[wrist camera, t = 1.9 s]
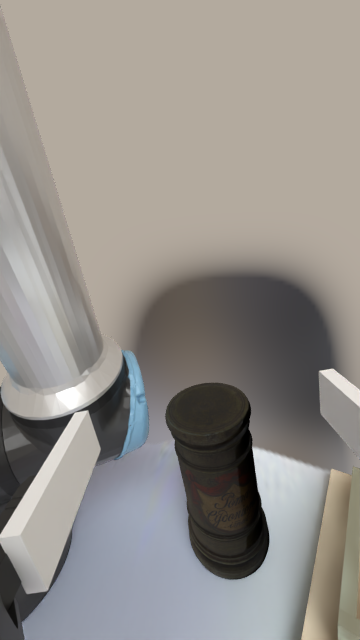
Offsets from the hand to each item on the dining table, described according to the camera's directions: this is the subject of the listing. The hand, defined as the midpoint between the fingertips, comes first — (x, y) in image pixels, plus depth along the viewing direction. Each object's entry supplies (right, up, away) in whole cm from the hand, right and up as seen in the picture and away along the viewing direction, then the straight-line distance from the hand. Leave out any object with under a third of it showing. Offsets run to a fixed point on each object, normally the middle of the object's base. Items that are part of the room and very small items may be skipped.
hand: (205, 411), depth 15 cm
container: (+4, -20, +16) cm, 26 cm away
